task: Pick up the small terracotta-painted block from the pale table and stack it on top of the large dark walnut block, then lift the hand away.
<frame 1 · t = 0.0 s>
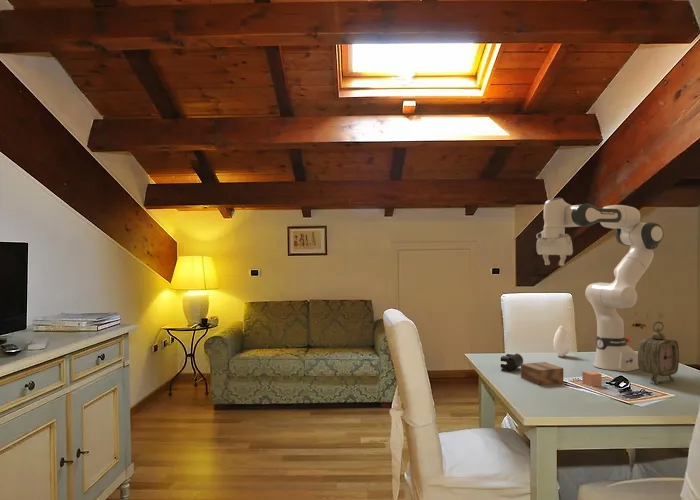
hand: (554, 265, 229), 48 cm above the table, fingers open, 8 cm apart
end cap: (511, 370, 235), on the table
walnut block: (541, 380, 216), on the table
white teardrop ornament: (561, 356, 262), on the table
terracotta block: (592, 384, 209), on the table
tabletop clock: (657, 382, 213), on the table
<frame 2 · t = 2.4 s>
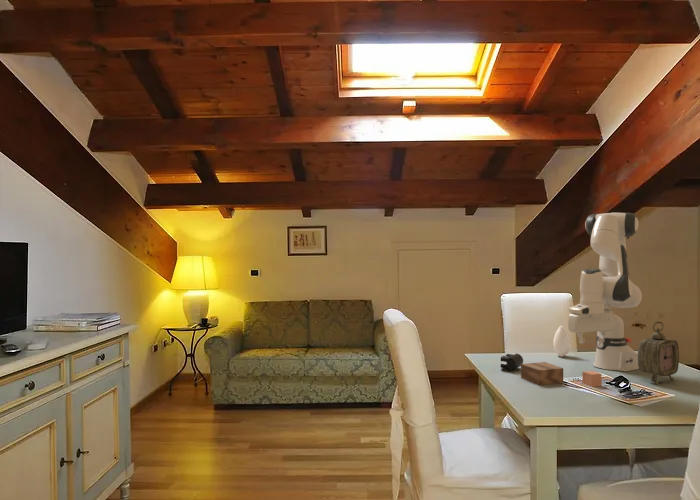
hand: (591, 342, 208), 17 cm above the table, fingers open, 8 cm apart
nothing on the table moved.
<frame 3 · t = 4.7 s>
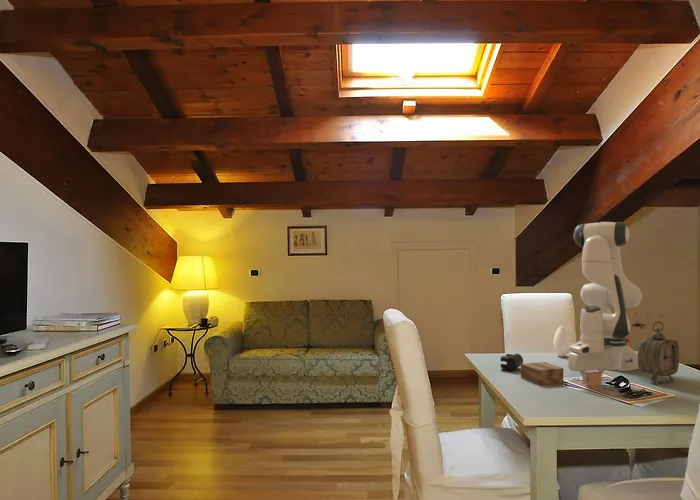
hand: (591, 380, 209), 2 cm above the table, fingers closed on terracotta block, 5 cm apart
terracotta block: (592, 384, 209), on the table, touching gripper
everything else where it was.
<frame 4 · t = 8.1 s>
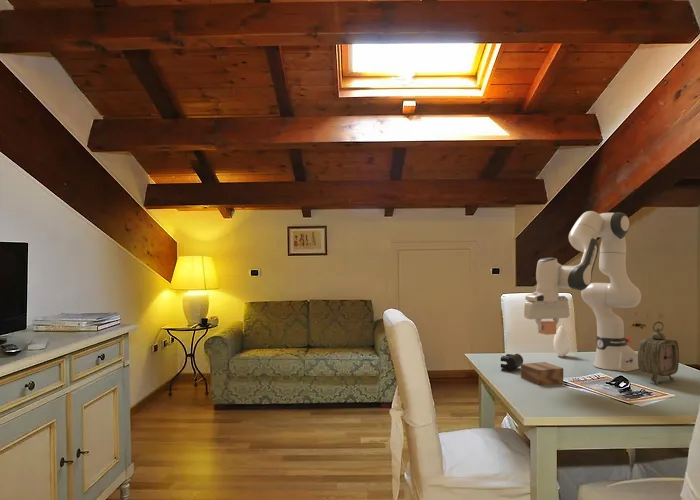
hand: (547, 329, 215), 22 cm above the table, fingers closed on terracotta block, 5 cm apart
terracotta block: (547, 333, 215), point 20 cm above the table, touching gripper
everything else where it was.
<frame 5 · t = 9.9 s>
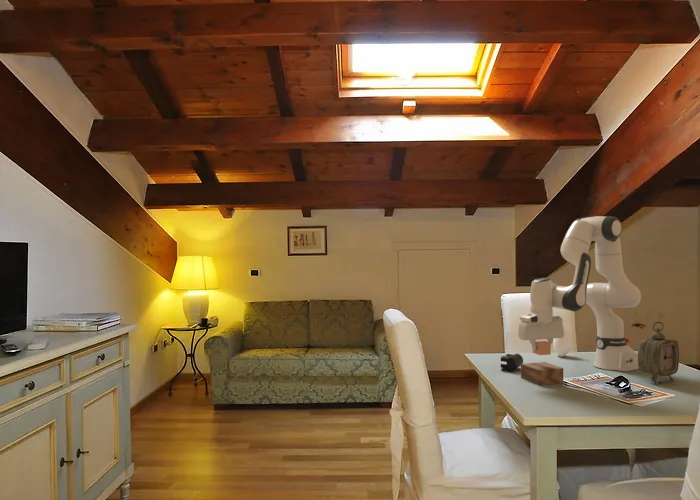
hand: (541, 349, 216), 13 cm above the table, fingers closed on terracotta block, 5 cm apart
terracotta block: (541, 353, 216), point 11 cm above the table, touching gripper
everything else where it was.
when the fingers open (9 cm above the table, at t = 11.5 s): terracotta block drops 1 cm, resting on walnut block.
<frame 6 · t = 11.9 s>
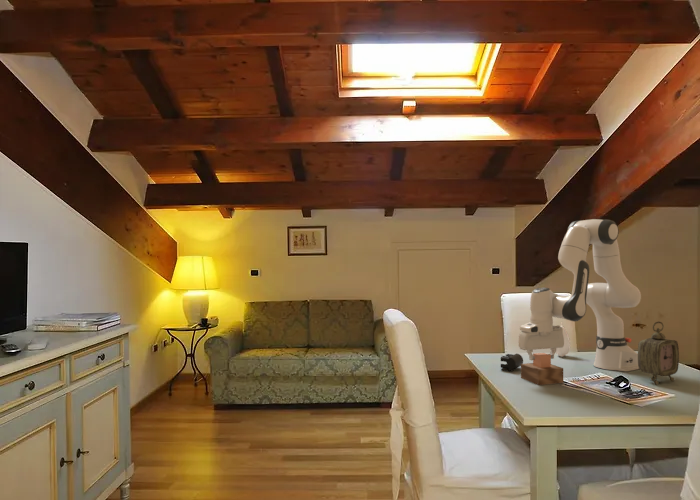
hand: (541, 359, 216), 9 cm above the table, fingers open, 8 cm apart
terracotta block: (541, 366, 216), point 6 cm above the table, touching walnut block
everything else where it was.
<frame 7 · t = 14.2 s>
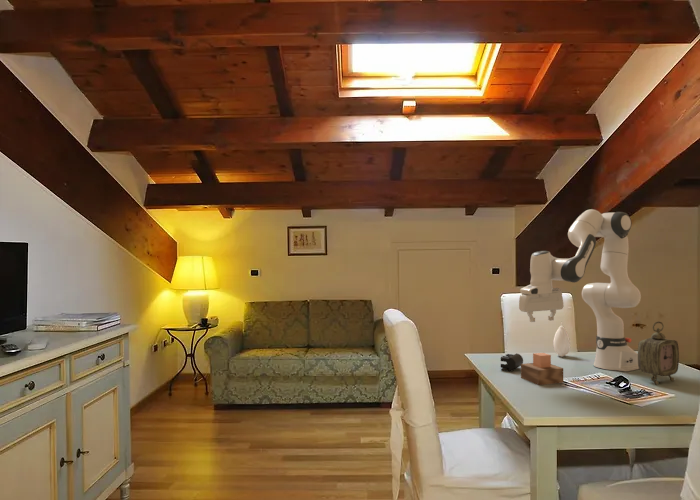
hand: (541, 321, 220), 24 cm above the table, fingers open, 8 cm apart
nothing on the table moved.
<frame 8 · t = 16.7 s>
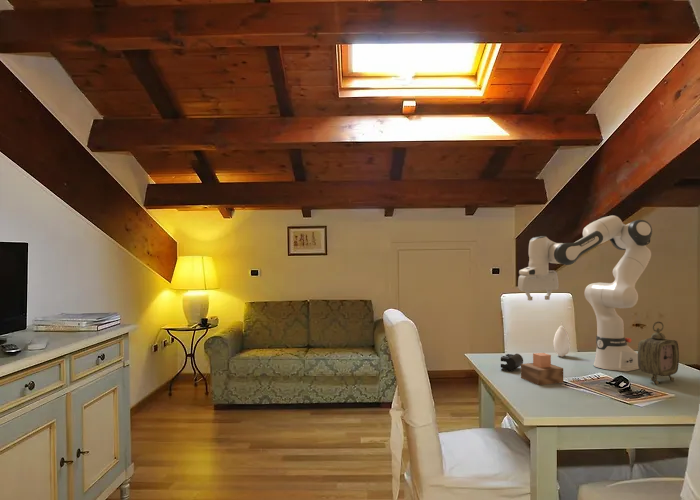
hand: (538, 300, 241), 31 cm above the table, fingers open, 8 cm apart
nothing on the table moved.
at the end: terracotta block inside the target area on the walnut block (0.1 cm from its centre), point 6.0 cm above the walnut block's base; terracotta block touching walnut block; the gripper is holding nothing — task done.
